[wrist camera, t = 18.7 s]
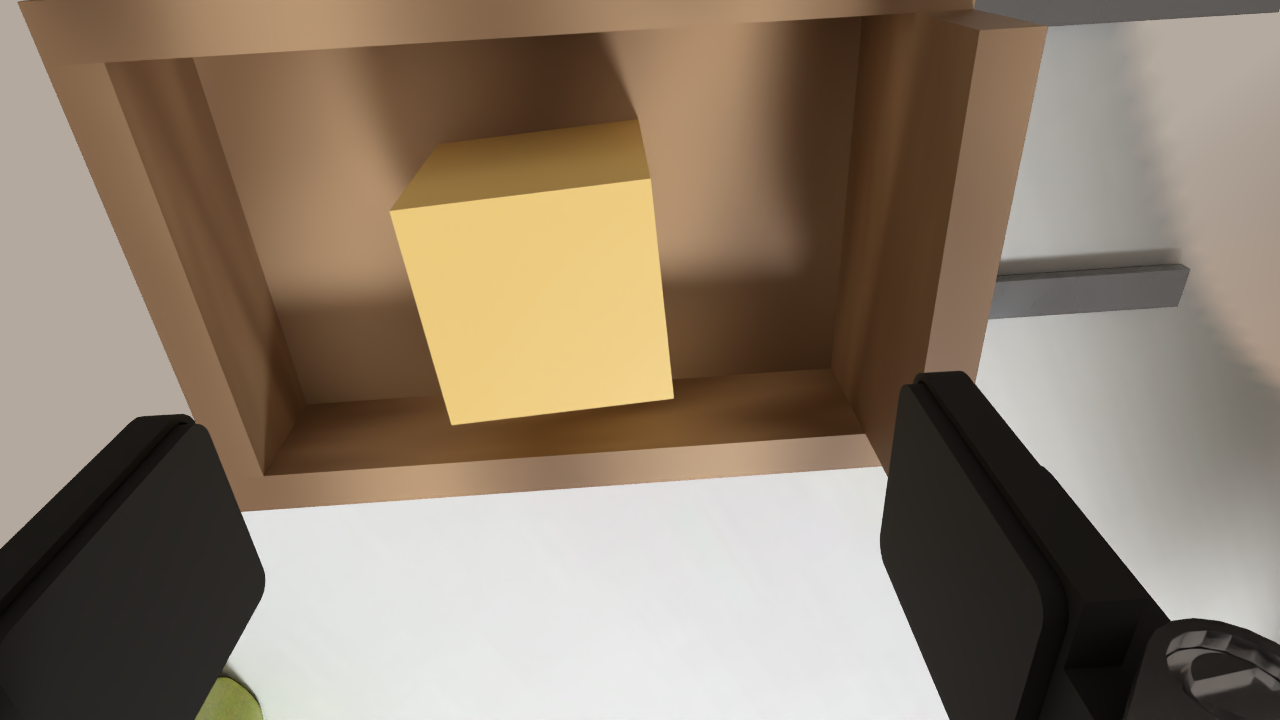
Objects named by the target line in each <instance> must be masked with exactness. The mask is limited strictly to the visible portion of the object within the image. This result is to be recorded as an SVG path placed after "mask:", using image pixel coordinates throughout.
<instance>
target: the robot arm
mask: <svg viewBox="0 0 1280 720" xmlns="http://www.w3.org/2000/svg"><path fill="white" fill-rule="evenodd" d="M880 549H881V555H882V560H883V563H884V566H885V568H886V570H887V573H888V575H889V578H890V580H891V582H892V585H893V587H894V589H895V592H896V594H897V596H898V599H899V601H900V604H901V606H902V608H903V611H904V613H905V615H906V618H907V620H908V622H909V625H910V627H911V630H912V632H913V634H914V637H915V639H916V641H917V644H918V646H919V648H920V651H921V653H922V656H923V658H924V660H925V663H926V665H927V667H928V670H929V672H930V674H931V677H932V679H933V682H934V684H935V686H936V689H937V691H938V693H939V696H940V698H941V700H942V703H943V705H944V708H945V710H946V712H947V715H948V717H949V719H950V720H1280V645H1279V644H1277V643H1276V642H1274V641H1271V640H1269V639H1267V638H1265V637H1263V636H1261V635H1259V634H1257V633H1254V632H1252V631H1250V630H1248V629H1245V628H1241V627H1238V626H1235V625H1231V624H1228V623H1225V622H1221V621H1215V620H1206V619H1197V618H1190V619H1182V620H1174V621H1170V619H1169V618H1168V617H1167V616H1166V615H1165V613H1164V612H1163V611H1162V610H1161V608H1160V607H1159V606H1158V605H1157V603H1156V602H1155V601H1154V600H1153V599H1152V597H1151V596H1150V595H1149V594H1148V592H1147V591H1146V590H1145V589H1144V587H1143V586H1142V585H1141V584H1140V583H1139V581H1138V580H1137V579H1136V578H1135V576H1134V575H1133V574H1132V573H1131V571H1130V570H1129V569H1128V568H1127V566H1126V565H1125V564H1124V563H1123V562H1122V560H1121V559H1120V558H1119V557H1118V555H1117V554H1116V553H1115V552H1114V550H1113V549H1112V548H1111V547H1110V546H1109V544H1108V543H1107V542H1106V541H1105V539H1104V538H1103V537H1102V536H1101V534H1100V533H1099V532H1098V531H1097V529H1096V528H1095V527H1094V526H1093V525H1092V523H1091V522H1090V521H1089V520H1088V518H1087V517H1086V516H1085V515H1084V513H1083V512H1082V511H1081V510H1080V509H1079V507H1078V506H1077V505H1076V504H1075V502H1074V501H1073V500H1072V499H1071V497H1070V496H1069V495H1068V494H1067V492H1066V491H1065V490H1064V489H1063V488H1062V486H1061V485H1060V484H1059V483H1058V481H1057V480H1056V479H1055V478H1054V476H1053V475H1052V474H1051V473H1050V472H1049V471H1048V470H1046V469H1045V468H1044V467H1043V466H1040V464H1039V463H1038V462H1037V461H1036V459H1035V458H1034V457H1033V456H1032V454H1031V453H1030V452H1029V451H1028V450H1027V448H1026V447H1025V446H1024V445H1023V443H1022V442H1021V441H1020V440H1019V438H1018V437H1017V436H1016V435H1015V433H1014V432H1013V431H1012V430H1011V428H1010V427H1009V426H1008V425H1007V423H1006V422H1005V421H1004V420H1003V418H1002V417H1001V416H1000V415H999V413H998V412H997V411H996V410H995V408H994V407H993V406H992V405H991V403H990V402H989V401H988V400H987V398H986V397H985V396H984V395H983V393H982V392H981V391H980V390H979V388H978V387H977V386H976V385H975V383H974V382H973V381H972V380H971V379H970V377H969V376H968V375H967V374H966V373H965V372H964V371H945V372H927V373H918V374H917V375H916V376H915V378H914V380H913V384H904V385H903V386H902V388H901V390H900V394H899V400H898V407H897V415H896V422H895V430H894V437H893V444H892V452H891V459H890V467H889V474H888V481H887V489H886V496H885V504H884V511H883V518H882V526H881V533H880ZM264 588H265V573H264V569H263V567H262V564H261V562H260V559H259V556H258V554H257V551H256V549H255V546H254V544H253V541H252V539H251V536H250V534H249V531H248V529H247V526H246V524H245V521H244V519H243V516H242V514H241V511H240V509H239V506H238V504H237V501H236V499H235V496H234V494H233V491H232V489H231V486H230V484H229V481H228V479H227V476H226V474H225V471H224V469H223V466H222V464H221V461H220V459H219V456H218V454H217V451H216V448H215V446H214V443H213V441H212V438H211V436H210V434H209V432H208V430H207V428H205V427H204V426H203V425H201V424H196V423H195V421H194V420H193V419H192V418H191V417H190V416H188V415H185V414H175V415H157V416H142V417H137V418H136V419H134V420H133V421H131V422H130V423H129V424H128V425H127V426H126V427H125V428H124V429H123V430H122V431H121V432H120V433H119V434H118V435H117V436H116V437H115V438H114V439H113V440H112V441H111V442H110V443H109V444H108V445H107V446H106V447H105V448H104V449H103V450H101V451H100V453H99V454H97V456H95V457H94V458H93V459H92V460H91V461H90V462H89V463H88V464H87V465H86V466H85V467H84V468H83V469H82V470H81V471H80V472H79V473H78V474H77V475H76V476H75V477H74V478H73V479H72V480H71V481H70V482H69V483H68V484H67V485H66V486H65V487H64V488H63V489H62V490H61V491H59V492H58V494H56V495H55V496H54V497H53V498H52V499H51V500H50V501H49V502H48V503H47V504H46V505H45V506H44V507H43V508H42V509H41V510H40V511H39V512H38V513H37V514H36V515H35V516H34V517H33V518H32V519H31V520H30V521H29V522H28V523H27V524H26V525H25V526H24V527H23V528H22V529H21V530H20V531H18V532H17V534H15V536H13V537H12V538H11V539H10V540H9V541H8V542H7V543H6V544H5V545H4V546H3V547H2V548H1V549H0V720H195V718H196V717H197V715H198V713H199V711H200V709H201V707H202V706H203V704H204V702H205V700H206V698H207V696H208V695H209V693H210V691H211V689H212V687H213V686H214V684H215V682H216V680H217V678H218V676H219V675H220V673H221V671H222V669H223V667H224V666H225V664H226V662H227V660H228V658H229V656H230V655H231V653H232V651H233V649H234V647H235V646H236V644H237V642H238V640H239V638H240V636H241V635H242V633H243V631H244V629H245V627H246V625H247V624H248V622H249V620H250V618H251V616H252V615H253V613H254V611H255V609H256V607H257V605H258V604H259V602H260V600H261V598H262V595H263V593H264Z"/></svg>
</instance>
